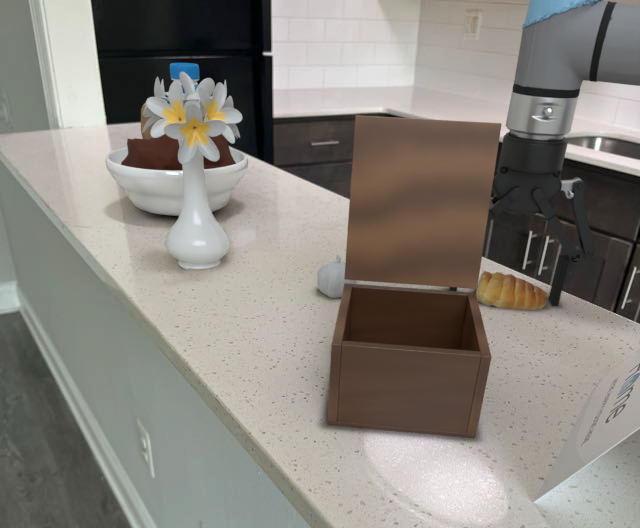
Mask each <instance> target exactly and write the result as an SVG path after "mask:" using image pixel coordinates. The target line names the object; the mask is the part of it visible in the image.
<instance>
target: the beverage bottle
mask: <svg viewBox="0 0 640 528" xmlns="http://www.w3.org/2000/svg"><path fill="white" fill-rule="evenodd" d="M180 72H185V73H186V74H187V75H188V76H189V77H190V78H191V79H192V81H193V83H194V85H195V90H196V89H197V87H198V85H199V83H198V81H200V67H199V64H198V63H191V62H172V63H170V64H169V75H170V80H172V81H179V82H180V84H181V86H182V83H181V81H180V77H179V74H180ZM182 90H183V93H184V94H185V90H184V88H183V86H182Z"/></svg>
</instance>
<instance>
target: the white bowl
mask: <svg viewBox="0 0 640 528" xmlns="http://www.w3.org/2000/svg"><path fill="white" fill-rule="evenodd" d="M209 137H210V139H211V140H212V141H213V142H214V144H215V145H216V147H217V149H218V151H219V154H220V158H219V160H218V161H211V160H209V159H207V158H206V157H205V156H204V174H205V184H206V193H207V199H208V204H209V207H210V209H211V212H212V213H213V212H216V211H219V210H221V209H223V208H224V207H225V206H227V205H228V204H229V203H230V200H231V198H232V196H233V193H234V190H235V188H236V187H237V186H238V185H239V184H240V182H241V181H242V179H243V178H244V176H245V174H246V173H247V170H248V167H249V160H248V157H247V156H246V154H245V153H243V152H242V151H240V150H237V149H235V148H231V147H230V145H229V141H228V140H227V139H226V138H225V137H224V136H223V135H222V134H220V135H218V136H215V137H211V136H209ZM179 148H180V147H179V143H178V139H173V138H171V137H169V136H167V135H166V134H164V135H162V136H160V137H157V138H151V139H143V138H136V137H135V138H127V139H126V147H121V148H118V149H115V150H113V151H110V152H109V153H108V154H107V155H106V157H105V159H104V160H105V161H104V162H105V168H106V169H107V171H108V173H109V174H110V176H111V177H112V178H113V180H114V182H116V183H117V184H118V185H119V186H120V187H121V188H122V189H123V190H124V191H125V193H126V195H127V197H128V199H129V200H130V202H131V203H132V204H133V206H134V207H136V208H138V209H139V210H141V211H143V212H147V213H150V214H154V215H162V216H173V217H179V215H180V212H181V209H182V204H183V170H182V164H181V163H180V162H179V160H178V151H179Z"/></svg>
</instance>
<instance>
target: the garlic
mask: <svg viewBox="0 0 640 528" xmlns="http://www.w3.org/2000/svg"><path fill="white" fill-rule="evenodd" d="M341 259H342V258H341V256H340V255H338V254H337V255H336V261H331V262H327V263H325V264H323V265H321V266H320V267H319V268H318V270H317V282H316V283H317V288H318V290H319V291H320V292H321V293H322V294H323V295H324V296H327V297H328V298H331V299H338V298H341V297H342V292H343V287H344V284H345V283H347V284H357V280H345V279H344V277H345V262H342V261H341Z"/></svg>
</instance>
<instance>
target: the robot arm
mask: <svg viewBox="0 0 640 528" xmlns="http://www.w3.org/2000/svg"><path fill="white" fill-rule="evenodd" d="M521 29H522V31H521V38H520V44H519V51H518V57H517V62H516V68H515V74H514V80H513V85H512V88H511V89H512V91H511V96H510V100H509V106H508V111H507V116H506V120H505V127H506V128H507V130H509V131H508V132H506V133H505V134H504V135H503V137H502V144H501V149H500V152H499V153H500V154H499V158H498V159H499V160H498V164H497V169H496V170H495V172H494V179H493V185H492V191H493V192H494V194H495V195H494V196H493V197H491V199H490V206H489V212H488V219H487V224H488V223H489V222H490V221H492V220H493V219H494V218H495V217H498V216H499V215H500V214H501V213H502V212H503V211H504V212H506V213H508V214H509V215H518V214H523V215H526V216H535V215H536V214H538V213H540V212H541V213H542V215H543V216H544V218H545V220H546V222H547V223H548V225H549V227H550V229H551V230H552V232H553V233H554V235H555V237H556V238H557V240H558V241H559V243H560V245H561V247H562V248H563V250H564V252H565V254H559V255H558V259H557V262H556V266H555V271H554V275H553V278H552V283H551V287H550V290H549V294H548V300H549V303H550V305H551V307H559V303H560V300H561V296H562V292H563V287H564V284H571V283H572V281H573V279H574V276H575V275H574V274H575V271H576V267H577V264H578V263H580V261H581V259H583V258H593V256H595V254H596V249H595V245H594V240H593V236H592V232H591V228H590V223H589V220H588V215H587V212H586V207H585V203H584V197H585V191H586V190H585V189H586V183H585V182H584V181H583V180H582V179H581V178H580V177H579V176H574V177H573V178H572V179H563V180H562V179H561V175H562V170H563V165H564V161H565V156H566V152H567V149H568V144H569V141H568V140H567V137H565V136H566V135H568V134H569V133H571V131H572V125H573V122H574V119H575V112H576V108H577V103H578V99H579V96H580V93H581V87H582V84H583V81H586V82H587V81H588V82H592V83H593V82H594V83H597V82H600V83H609V84H618V85H627V86H637V87H640V3H637V2H635V3H633V2H630V3H629V2H627V3H626V2H617V1H610V0H529V3H528V7H527V10H526V14H525V19H524V22H523V24H522V27H521ZM561 191H563V194H564V197H566V198H567V199H569V204H570V208H571V213H572V217H573V221H574V224H575V229H576V233H577V237H578V241H579V242H578V243H579V245H576V246H575V245H574V243H573V241H572V240H571V238H570V236H569V234H568V232H567V231H566V229H565V228H564V226H563V224H562V222H561V221H560V219H559V217H558V216H557V214H556V212H555V210H554V208H553V207H552V205H551V201H552V200H554V198H556V196H558V195H559V194H560V193H561ZM457 290H458V288H455V287H448V291H457Z"/></svg>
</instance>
